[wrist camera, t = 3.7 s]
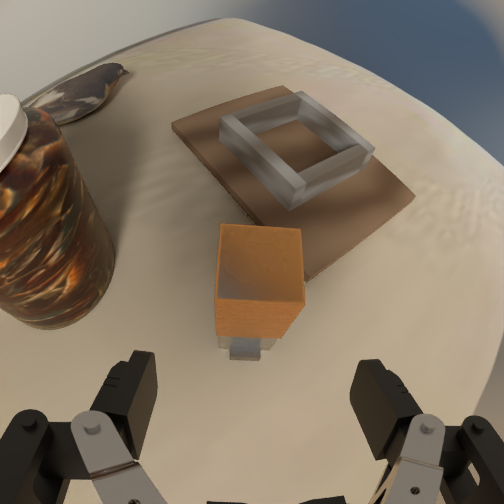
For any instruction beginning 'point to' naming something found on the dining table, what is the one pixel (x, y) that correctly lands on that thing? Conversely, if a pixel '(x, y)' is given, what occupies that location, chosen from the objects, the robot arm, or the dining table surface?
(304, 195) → the socket board
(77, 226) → the jar
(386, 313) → the dining table surface
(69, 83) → the decorative bird
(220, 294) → the orange rectangular block
